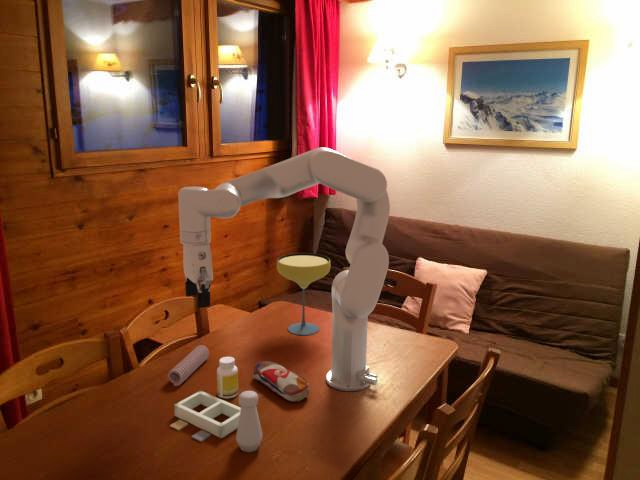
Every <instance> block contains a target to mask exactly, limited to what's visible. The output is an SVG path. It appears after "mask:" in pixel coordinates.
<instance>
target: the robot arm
mask: <svg viewBox="0 0 640 480" xmlns="http://www.w3.org/2000/svg"><path fill="white" fill-rule="evenodd" d="M319 184H320V185H322V186H325V187H327V188H330V189H331V190H335V191H336V192H339V193H342V194H343V195H346V196H348V197H349V196H350V197H352V198H354V199H355V201H356V212H355V218H354V222H353V224H352V225H353V226H352V229H351V232H350V235H349V238H348V241H347V244H346V248H345V257H346V260H347V262H348V264H350V265H349V268H348V269H345V270H343V271H340V272H339V273H338V274H337V275H335V278H334V279H333V281H332V284H331V302H332V303H331V306H332V307H331V308H332V330H331V331H332V333H331V334H332V335H331V338H332V341H331V369H330V370H329V371H328V372H327V373H326V375H325V381H326V383H327V384H328V385H329V386H330V387H331V388H334V389H336V390H340V391H342V392H343V391H345V392H355V391H356V392H357V391H361V390H364V389H366V388H367V387H369V386H370V385H371V386H375V387H376V386H377V384H378V374H376V373H372V372H370V366H369V365H367V353H368V352H367V347H368V326H369V325H368V322H369V321H368V320H369V319H368V318H369V317H368V316H369V315H371V313H372V312H373V311H374V309H375V307H376V306H377V303H378V300H379V298H380V295H381V292H382V289H383V286H384V284H385V280H386V276H387V272H388V269H389V266H390V265H389V263H390V259H389V258H390V256H389V251H388V250H387V248H386V247H385V245H384V244H383V241H384V237H385V234H386V231H387V226H388V222H389V218H390V211H391V209H390V208H391V206H390V205H391V204H390V203H391V202H390V197H389V194H388V191H387V189H388V181H387V179H386V176H385V174H384V173H383V171H381V170H380V169H378V168H376V167H374V166H371V165H368V164H366V163H363V162H361V161H358V160H356V159H354V158H351V157H349V156H346V155H344V154H342V153H340V152H338V151H336V150H333V149H331V148H329V147H316V148H314V149H312V150H311V149H310V150H309V151H305V152H303V153H300V154H298V155H296V156H295V155H294V157H293V156H292V157H290V158H288V159H285V160H281V161H280V162H277V163H274V164H271V165H269V166H265V167H263V168H261V169H259V170H256V171H253V172H249V173H247V174H244V175H242V176H239V177H236V178H234V179H231V180H227V181H225V182H222V183H220V184H219V185H217V186H216V187H215V188H214V189H208V188H206V187H203V186H185V187H182V188H180V189H179V190H178V192H177V193H178V218H179V240H180V241H179V242H180V244H181V245H183V247H182V249H183V250H182V254H183V255H182V261H183V263H182V265H183V266H182V267H183V273H184V280H185V281H184V287H185V296H186V297H193V296H196V303H197V305H196V306H197V308H198V309H202V308H203V309H204V308H207V307H210V306H211V282H213V280H214V274H213V270H214V269H213V262H212V261H213V260H212V252H211V246H210V243H211V242H212V235H211V234H212V233H211V232H212V231H211V227H212V226H211V218H216V219H217V218H218V219H231V218H233V217H235V216H236V215H237V214H238V212H240V209H241V207H244V206H247V205H248V204H251V203H254V202H257V201H260V200H266V199H280V198H285V197H288V196H290V195H294V194H296V193H297V192H301V191H303V190H306V189H309V188H311V187H315V186H316V185H319Z"/></svg>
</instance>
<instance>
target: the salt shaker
mask: <svg viewBox="0 0 640 480" xmlns="http://www.w3.org/2000/svg"><path fill="white" fill-rule="evenodd" d="M258 403H259V395H258V393H257V392H256V391H254V390H244V391H242V392H241V393H240V394H238V405H239V407H240V408H241V411H240V417H239V423H238V428H237V429H236V436H235V441H236V443H237V444H238V446H239V448H240V450H241V451H242V452H247V453H253V452H255V451H257V450H258V447H259V446H260V444H261V442H262V441H263V430H262V427H261V421H260V418H259V412H258V408H257V405H258Z"/></svg>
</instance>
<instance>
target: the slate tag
mask: <svg viewBox="0 0 640 480" xmlns="http://www.w3.org/2000/svg"><path fill="white" fill-rule="evenodd" d="M211 435H212V434H211V433H209V432H207V431H205V430H203V429H201V430H200V431H197V432H196V433H194V434H192V435H191V438H192V439H194V440H196V441H197V442H199V443H202V442H204V441H205V440H207V439H208V438H210V437H211Z"/></svg>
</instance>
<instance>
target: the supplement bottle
mask: <svg viewBox="0 0 640 480" xmlns="http://www.w3.org/2000/svg"><path fill="white" fill-rule="evenodd" d="M218 362H219V363H218V365H219V367H217V369H216V381H217V382H216V383H217V384H216V385H217V388H216V389H217V395H218V398H220V399H221V398H222V399H232V398H235V397H236V396H237V395H239V377H238V376H239V371H238V367H237V366H236V364H235V363H236V360H235V358H234V357H232V356H223V357H221V358H220V359H219V361H218Z"/></svg>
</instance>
